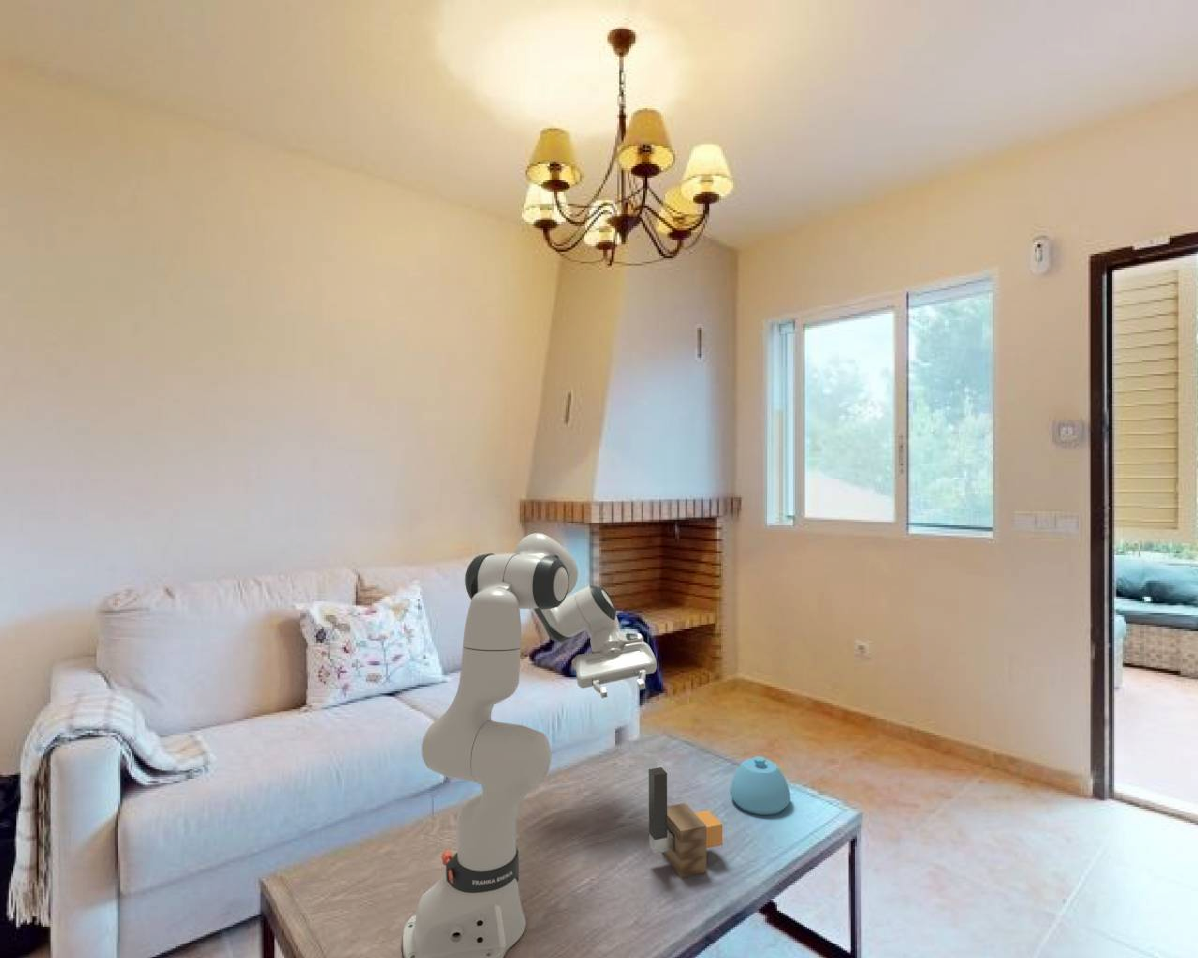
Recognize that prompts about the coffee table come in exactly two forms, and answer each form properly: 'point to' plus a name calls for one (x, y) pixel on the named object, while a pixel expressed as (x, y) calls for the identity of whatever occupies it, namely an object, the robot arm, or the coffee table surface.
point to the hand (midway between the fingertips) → (623, 691)
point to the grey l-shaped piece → (659, 813)
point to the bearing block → (686, 841)
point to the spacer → (711, 828)
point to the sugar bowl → (760, 787)
